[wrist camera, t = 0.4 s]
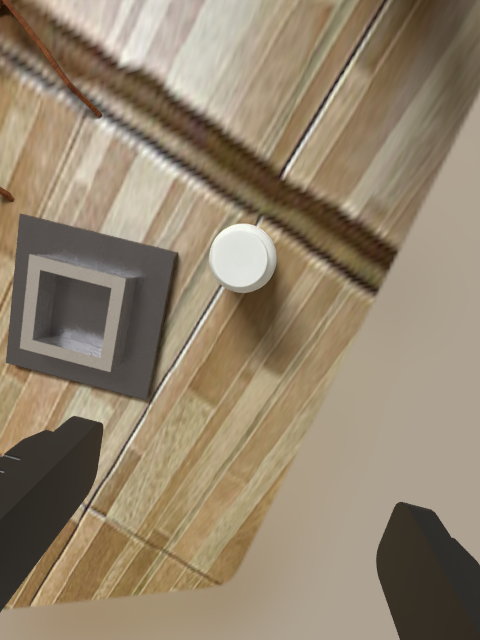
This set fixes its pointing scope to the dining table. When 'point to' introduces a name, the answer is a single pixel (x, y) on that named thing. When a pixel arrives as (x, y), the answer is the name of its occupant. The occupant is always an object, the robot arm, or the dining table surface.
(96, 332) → the mount
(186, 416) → the dining table surface
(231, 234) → the supplement bottle
